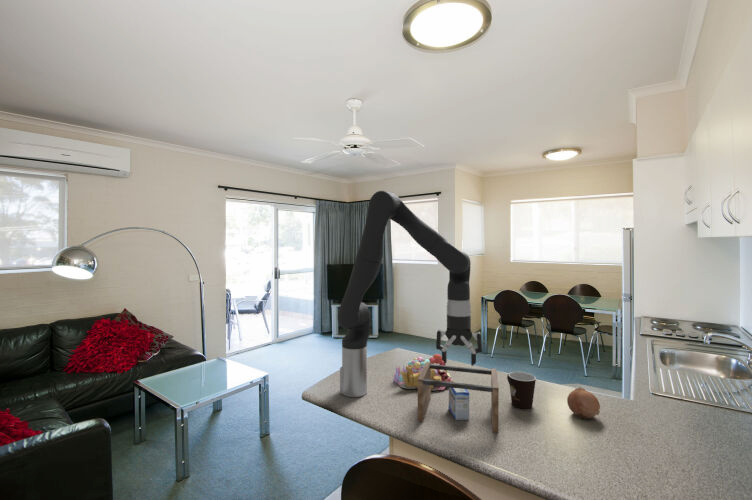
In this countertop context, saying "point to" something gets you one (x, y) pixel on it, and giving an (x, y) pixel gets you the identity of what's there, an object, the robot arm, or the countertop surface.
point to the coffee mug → (521, 389)
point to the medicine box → (459, 403)
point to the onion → (583, 403)
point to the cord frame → (426, 383)
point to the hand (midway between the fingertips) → (458, 363)
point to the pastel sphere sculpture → (414, 369)
